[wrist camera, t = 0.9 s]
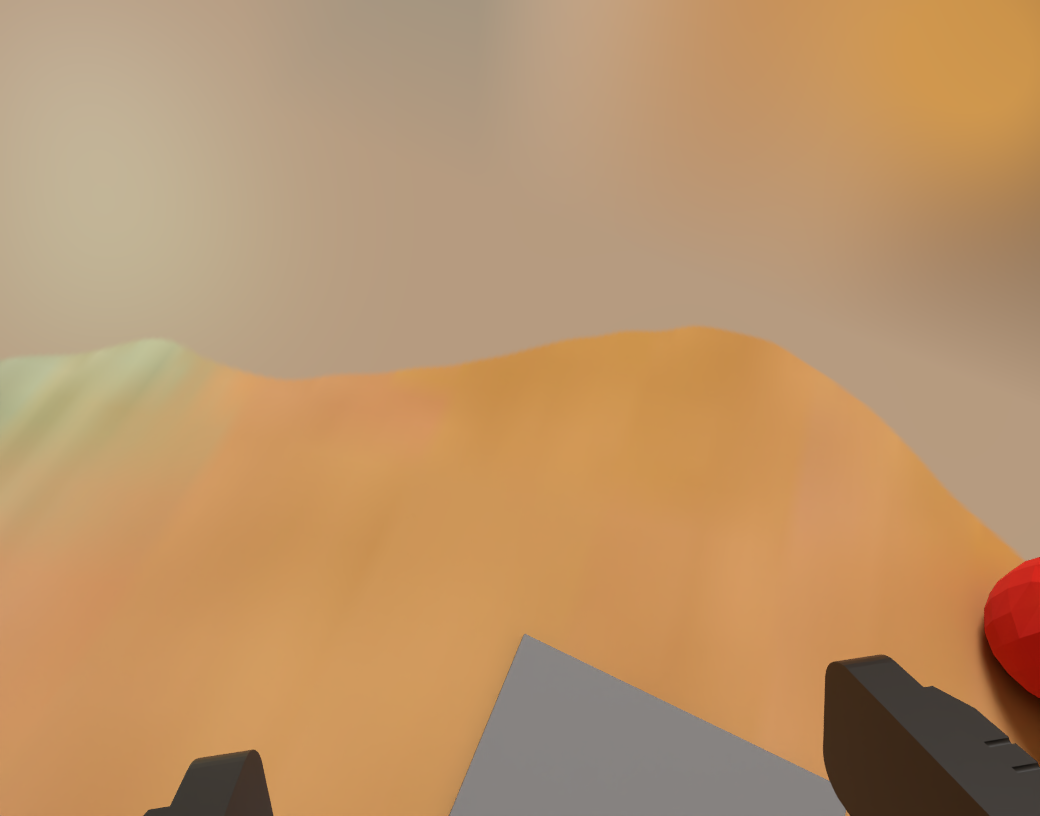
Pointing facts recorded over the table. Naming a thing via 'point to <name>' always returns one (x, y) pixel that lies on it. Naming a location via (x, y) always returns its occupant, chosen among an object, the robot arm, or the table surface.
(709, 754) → the mat
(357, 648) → the table surface
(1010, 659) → the tomato
